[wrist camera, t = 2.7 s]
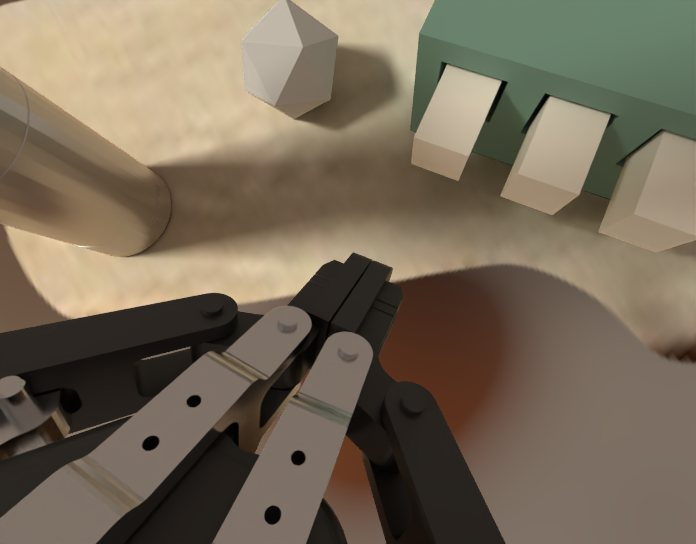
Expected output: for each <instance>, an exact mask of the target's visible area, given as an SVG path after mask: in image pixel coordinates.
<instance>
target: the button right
mask: <svg viewBox="0 0 696 544" xmlns="http://www.w3.org/2000/svg"><path fill="white" fill-rule="evenodd" d="M598 232H599V233H602V234H605V235H608V236H610V237H613V238H616V239H619V240H621V241H624V242H627V243H629V244H632V245H635V246H638V247H640V248H643V249H646V250H649V251H651V252H654V253H657V252H660V251H663V250H667V249H670V248H673V247H676V246H679V245H683V244H686V243H689V242H692V241H695V240H696V139H693V138H690V137H687V136H683V135H680V134H677V133H673V132H670V131H667V130H664V129H663V130H662V131H661V132H659V133H658V134H657V135H655V136H654V137H653V138H652V139H650V140H649V141H648V142H646V143H645V144H644V145H642V146H641V147H640V148H638V149H637V150H636V151H634V152H633V153H632V154H630V155H629V156H628V157H627V158H626V160H625V163H624V166H623V168H622V171H621V173H620V176H619V179H618V181H617V184H616V187H615V189H614V192H613V194H612V197H611V200H610V202H609V205H608V208H607V210H606V213H605V215H604V218H603V221H602V223H601V226H600V228H599V231H598Z"/></svg>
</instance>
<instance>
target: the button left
mask: <svg viewBox="0 0 696 544" xmlns="http://www.w3.org/2000/svg"><path fill="white" fill-rule="evenodd" d="M501 82H502V80H501V79H497V78H494V77H491V76H488V75H484V74H481V73H478V72H475V71H471V70H468V69H465V68H462V67H458V66H455V65H452V64H449V63H448V64H447V66H446V68H445V70H444V73H443V75H442V77H441V79H440V81H439V83H438V86H437V88H436V90H435V92H434V94H433V96H432V99H431V101H430V103H429V105H428V107H427V110H426V112H425V114H424V116H423V118H422V120H421V123H420V125H419V127H418V129H417V131H416V133H415V136H414V140H413V149H412V158H411V164H413V165H416V166H418V167H421V168H424V169H427V170H429V171H432V172H435V173H438V174H440V175H443V176H446V177H448V178H451V179H454V180H457V181H458V180H459V178H460V176H461V174H462V171H463V169H464V167H465V164H466V162H467V160H468V158H469V155H470V153H471V151H472V148H473V146H474V144H475V142H476V139H477V137H478V135H479V132H480V130H481V128H482V126H483V123H484V121H485V119H486V116H487V114H488V112H489V110H490V107H491V105H492V103H493V100H494V98H495V96H496V93H497V91H498V89H499V86H500V84H501Z"/></svg>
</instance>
